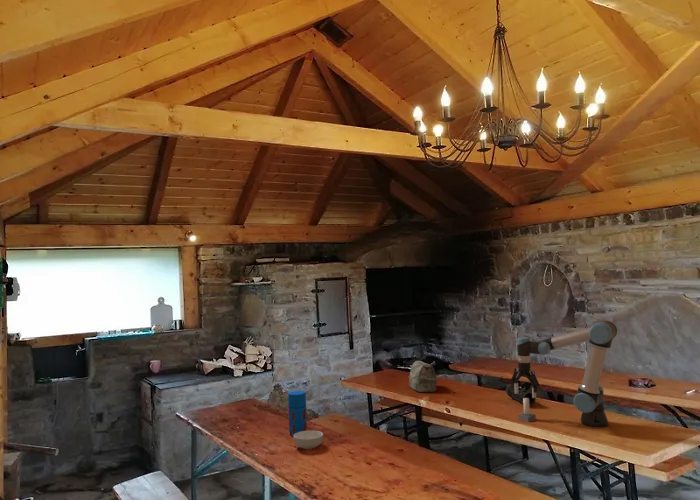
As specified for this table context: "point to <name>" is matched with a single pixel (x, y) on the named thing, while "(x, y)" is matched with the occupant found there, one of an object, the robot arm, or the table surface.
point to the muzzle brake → (520, 394)
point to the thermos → (297, 412)
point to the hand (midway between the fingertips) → (525, 395)
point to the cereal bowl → (308, 439)
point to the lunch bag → (422, 377)
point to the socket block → (527, 417)
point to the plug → (526, 406)
